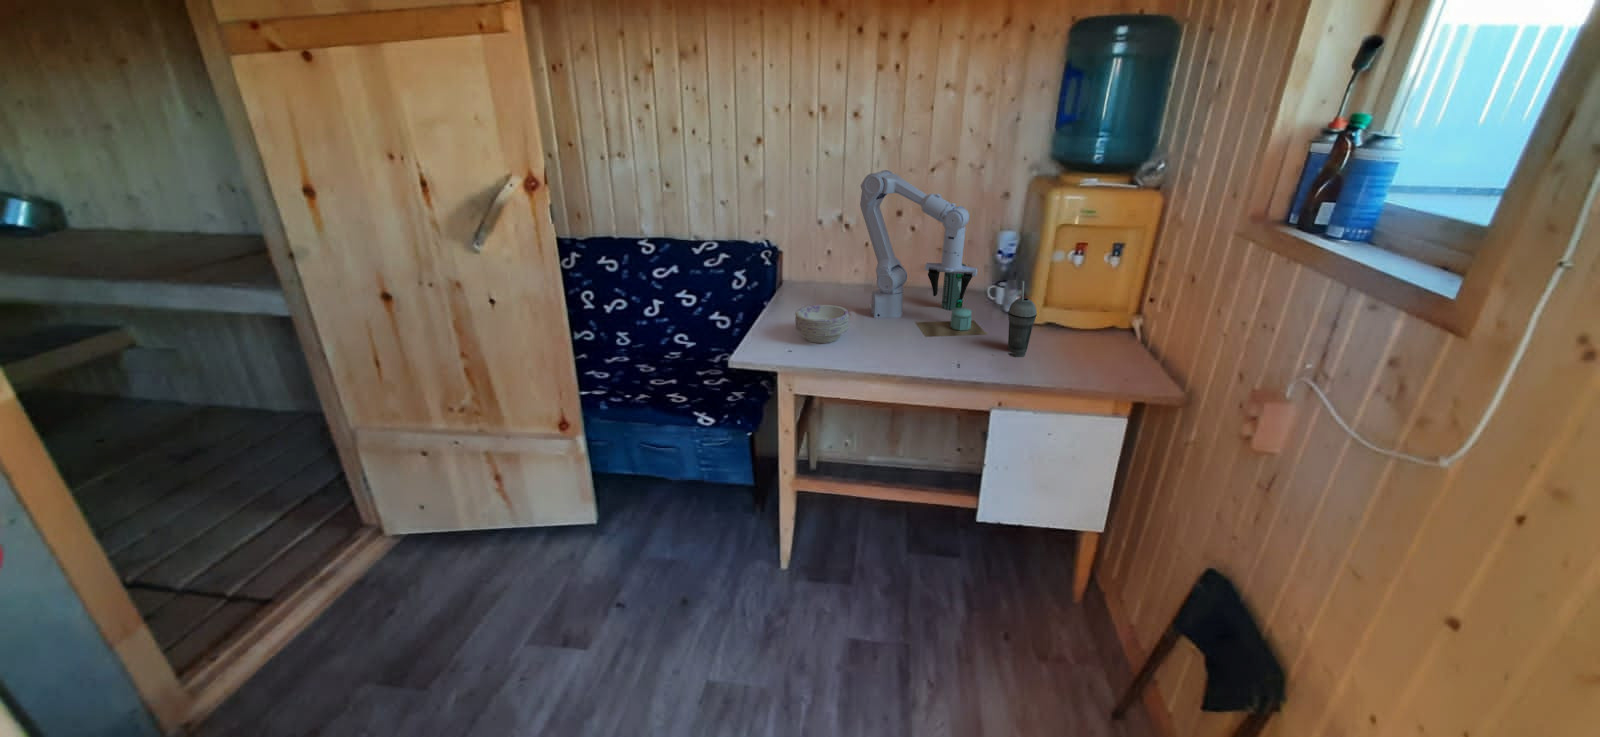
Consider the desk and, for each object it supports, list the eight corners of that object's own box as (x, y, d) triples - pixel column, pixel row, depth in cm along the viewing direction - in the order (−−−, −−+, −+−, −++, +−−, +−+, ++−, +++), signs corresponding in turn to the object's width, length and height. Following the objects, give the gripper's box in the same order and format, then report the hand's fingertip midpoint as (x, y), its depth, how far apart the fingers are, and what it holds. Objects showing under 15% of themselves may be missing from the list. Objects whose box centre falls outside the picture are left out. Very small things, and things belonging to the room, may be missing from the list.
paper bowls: (811, 325, 198) (811, 300, 195) (857, 334, 191) (857, 308, 188) (785, 341, 186) (785, 315, 183) (833, 351, 179) (833, 324, 176)
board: (925, 340, 186) (925, 336, 186) (915, 326, 197) (915, 322, 197) (987, 338, 187) (987, 334, 187) (973, 324, 198) (973, 320, 198)
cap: (956, 322, 195) (958, 306, 193) (973, 326, 192) (975, 310, 190) (947, 327, 192) (949, 311, 190) (964, 331, 188) (965, 315, 186)
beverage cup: (1016, 361, 172) (1026, 287, 164) (996, 351, 178) (1005, 280, 170) (1036, 356, 175) (1047, 283, 167) (1016, 347, 181) (1026, 276, 173)
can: (962, 313, 207) (967, 267, 201) (943, 313, 207) (947, 267, 201) (958, 307, 213) (963, 262, 207) (940, 307, 213) (944, 262, 207)
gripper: (924, 251, 185) (920, 297, 191) (976, 257, 180) (970, 304, 185) (930, 246, 191) (926, 290, 197) (980, 251, 186) (975, 297, 191)
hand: (948, 296), depth 191 cm, fingers open, 7 cm apart
